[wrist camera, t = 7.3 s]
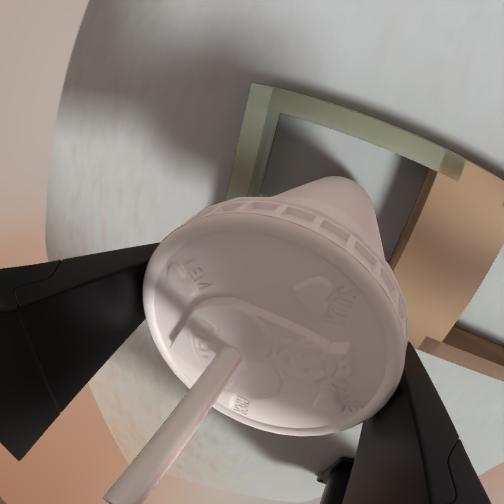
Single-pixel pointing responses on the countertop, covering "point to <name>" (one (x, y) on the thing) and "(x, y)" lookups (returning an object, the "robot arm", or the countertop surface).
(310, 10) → the countertop surface
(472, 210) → the caddy
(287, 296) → the smoothie
